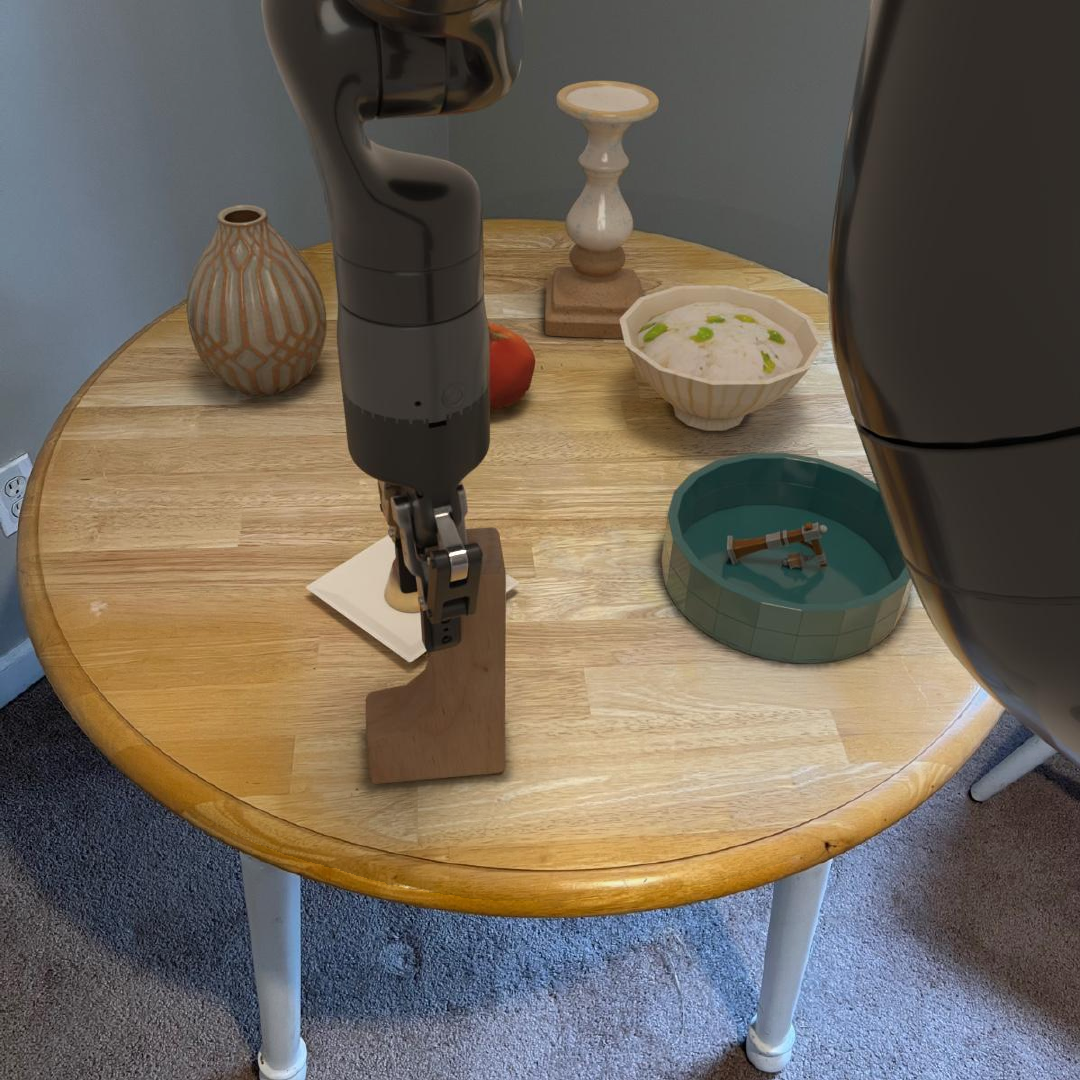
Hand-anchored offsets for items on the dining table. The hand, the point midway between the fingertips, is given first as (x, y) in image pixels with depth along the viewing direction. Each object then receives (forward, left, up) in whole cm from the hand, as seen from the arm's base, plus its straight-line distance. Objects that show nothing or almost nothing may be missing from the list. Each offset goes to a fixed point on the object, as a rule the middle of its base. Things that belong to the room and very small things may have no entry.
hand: (429, 614), depth 66 cm
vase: (+52, +2, -14) cm, 54 cm away
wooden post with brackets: (+10, -32, -13) cm, 36 cm away
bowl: (+32, -38, -14) cm, 52 cm away
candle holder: (+54, -35, -14) cm, 66 cm away
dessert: (+16, -3, -14) cm, 21 cm away
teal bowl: (+8, -32, -13) cm, 36 cm away
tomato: (+41, -18, -14) cm, 47 cm away
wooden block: (0, 0, -14) cm, 14 cm away
